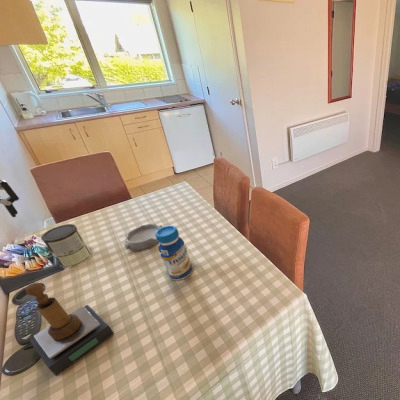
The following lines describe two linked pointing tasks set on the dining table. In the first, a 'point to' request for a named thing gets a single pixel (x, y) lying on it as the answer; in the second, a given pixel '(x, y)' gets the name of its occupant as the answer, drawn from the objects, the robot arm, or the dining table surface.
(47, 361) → the scale
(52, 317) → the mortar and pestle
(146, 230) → the dish
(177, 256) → the beverage bottle
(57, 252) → the coffee can
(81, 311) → the scale pan
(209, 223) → the dining table surface
